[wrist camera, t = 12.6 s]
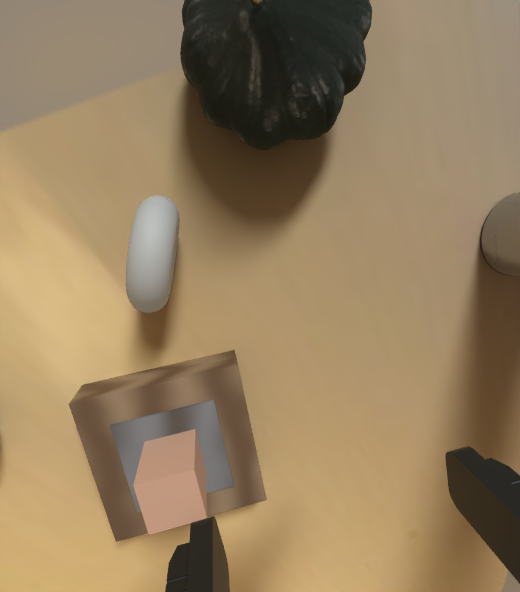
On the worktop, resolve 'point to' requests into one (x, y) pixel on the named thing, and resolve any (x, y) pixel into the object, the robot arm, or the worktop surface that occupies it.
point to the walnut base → (169, 433)
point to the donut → (152, 253)
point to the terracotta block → (171, 482)
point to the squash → (274, 63)
